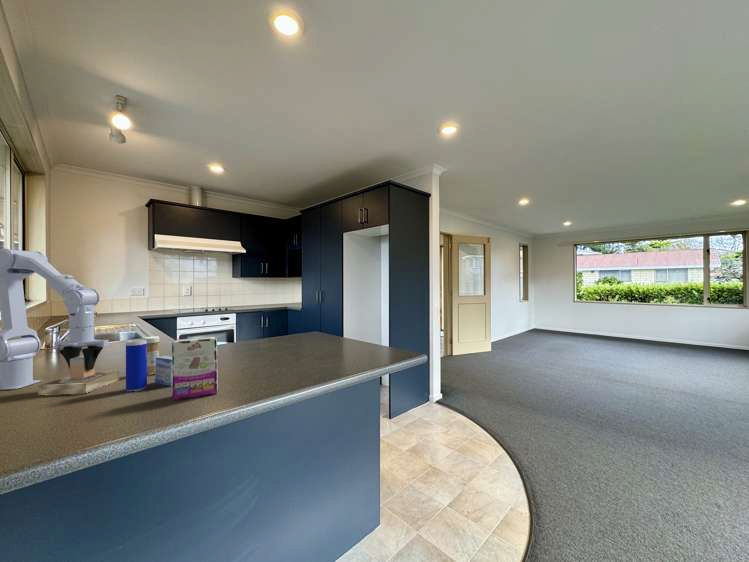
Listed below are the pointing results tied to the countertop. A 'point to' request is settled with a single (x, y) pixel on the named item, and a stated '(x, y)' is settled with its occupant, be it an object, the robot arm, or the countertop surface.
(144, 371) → the beverage can
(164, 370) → the medicine box
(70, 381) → the frame
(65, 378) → the walled box
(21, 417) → the countertop surface
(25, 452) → the countertop surface
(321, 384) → the countertop surface
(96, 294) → the robot arm
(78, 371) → the tan-topped block
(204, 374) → the candy bar box
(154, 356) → the sprinkles bottle
